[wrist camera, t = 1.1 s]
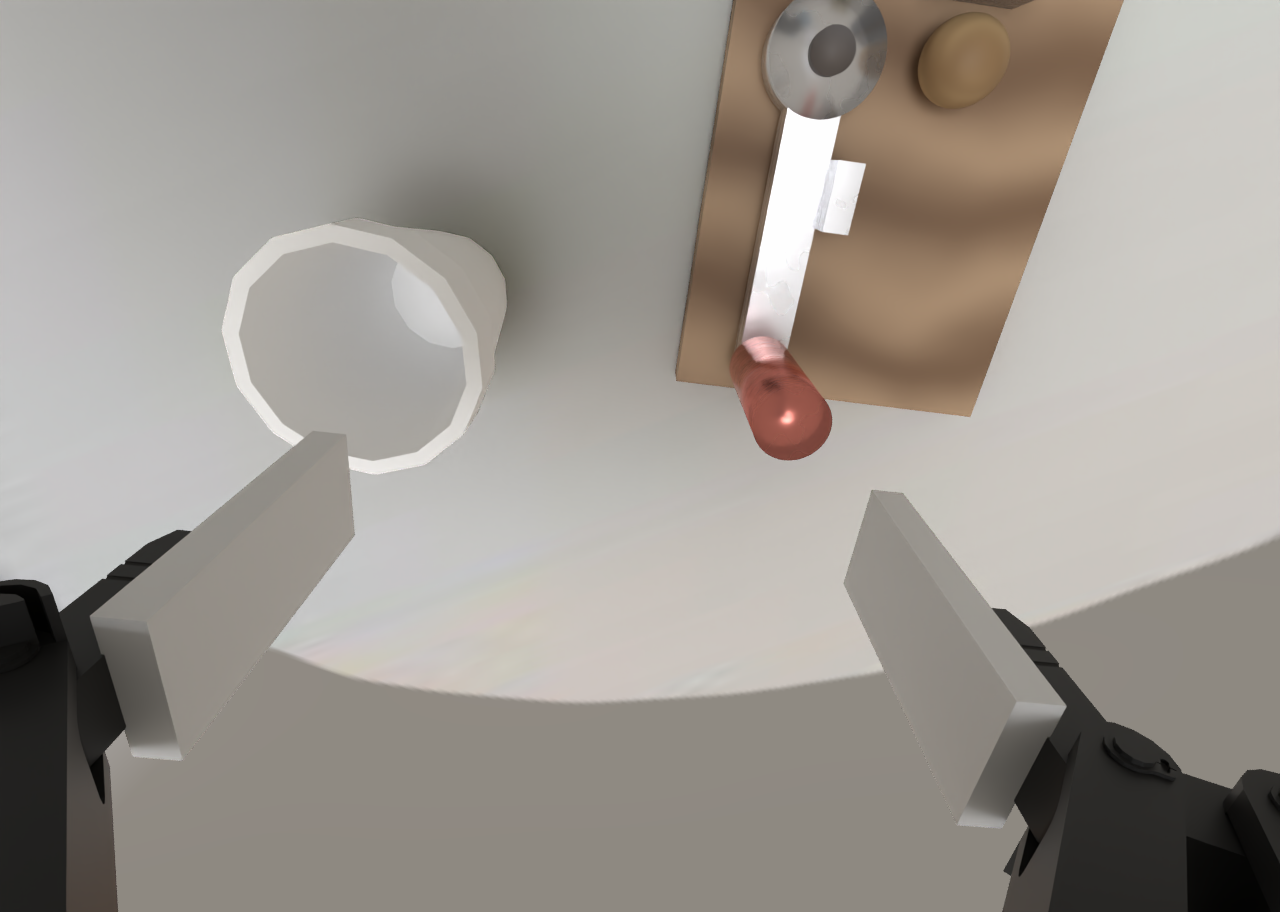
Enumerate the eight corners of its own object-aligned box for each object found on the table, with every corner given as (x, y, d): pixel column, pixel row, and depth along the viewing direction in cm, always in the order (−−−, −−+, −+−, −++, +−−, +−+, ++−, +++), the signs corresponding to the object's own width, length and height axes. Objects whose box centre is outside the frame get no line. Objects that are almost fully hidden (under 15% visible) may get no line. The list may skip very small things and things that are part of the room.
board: (749, -107, 28) (769, -155, 24) (1121, -48, 29) (1205, -83, 25) (675, 372, 37) (679, 401, 33) (958, 407, 38) (999, 440, 34)
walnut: (919, 14, 29) (954, -4, 26) (997, 26, 29) (1041, 10, 26) (895, 105, 30) (926, 99, 27) (969, 116, 30) (1009, 111, 27)
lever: (774, -16, 28) (834, -94, 19) (885, 2, 28) (996, -68, 19) (704, 379, 36) (724, 453, 27) (793, 389, 36) (842, 466, 27)
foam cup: (394, 166, 33) (255, 173, 21) (561, 250, 35) (519, 299, 23) (344, 331, 37) (202, 415, 25) (498, 399, 38) (433, 508, 26)
